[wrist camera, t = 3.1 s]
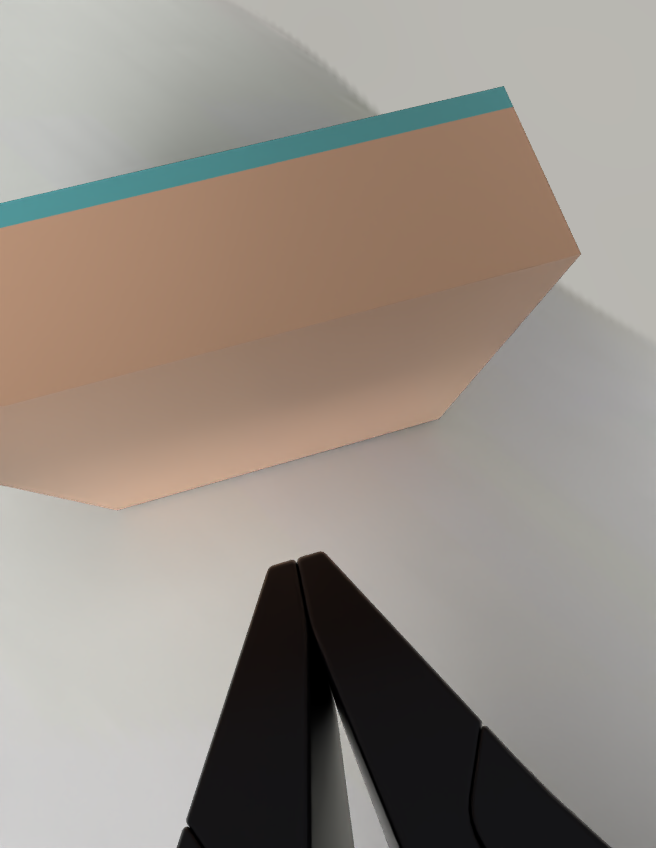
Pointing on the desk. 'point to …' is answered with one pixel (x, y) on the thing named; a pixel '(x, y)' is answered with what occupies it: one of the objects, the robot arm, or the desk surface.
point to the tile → (266, 299)
